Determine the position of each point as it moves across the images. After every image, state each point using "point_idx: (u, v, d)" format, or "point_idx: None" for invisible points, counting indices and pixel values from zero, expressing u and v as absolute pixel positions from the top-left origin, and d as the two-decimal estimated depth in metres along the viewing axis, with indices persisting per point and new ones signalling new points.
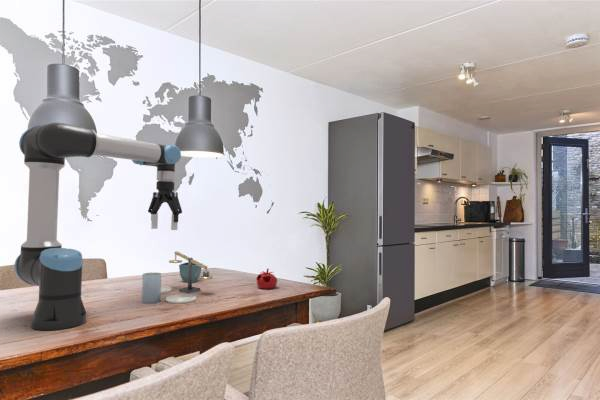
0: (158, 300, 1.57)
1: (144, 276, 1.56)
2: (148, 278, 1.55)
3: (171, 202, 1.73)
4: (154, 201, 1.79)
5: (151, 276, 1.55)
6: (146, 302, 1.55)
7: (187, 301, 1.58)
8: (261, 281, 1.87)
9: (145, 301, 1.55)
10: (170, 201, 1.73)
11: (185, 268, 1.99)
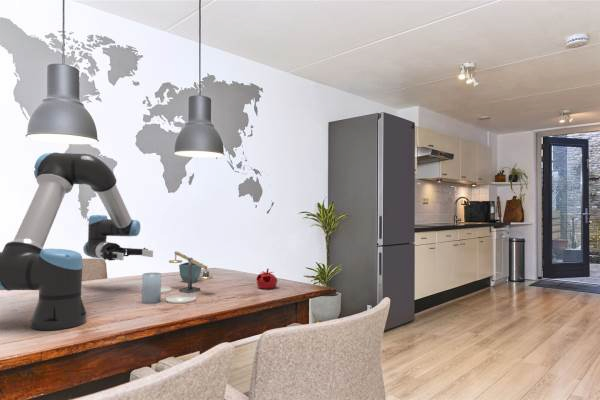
0: (158, 300, 1.57)
1: (144, 276, 1.56)
2: (148, 278, 1.55)
3: None
4: None
5: (151, 276, 1.55)
6: (146, 302, 1.55)
7: (187, 301, 1.58)
8: (261, 281, 1.87)
9: (145, 301, 1.55)
10: None
11: (185, 268, 1.99)
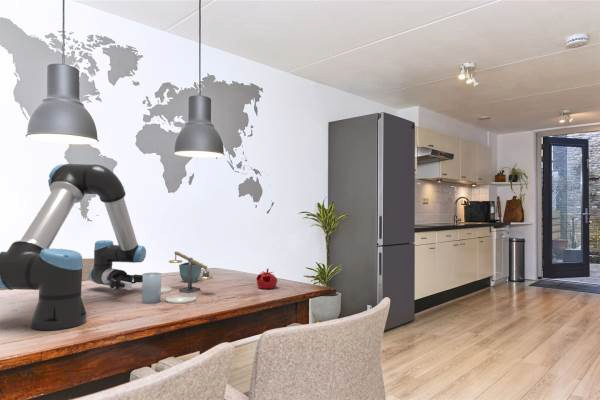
0: (158, 300, 1.57)
1: (144, 276, 1.56)
2: (148, 278, 1.55)
3: None
4: None
5: (151, 276, 1.55)
6: (146, 302, 1.55)
7: (187, 301, 1.58)
8: (261, 281, 1.87)
9: (145, 301, 1.55)
10: None
11: (185, 268, 1.99)
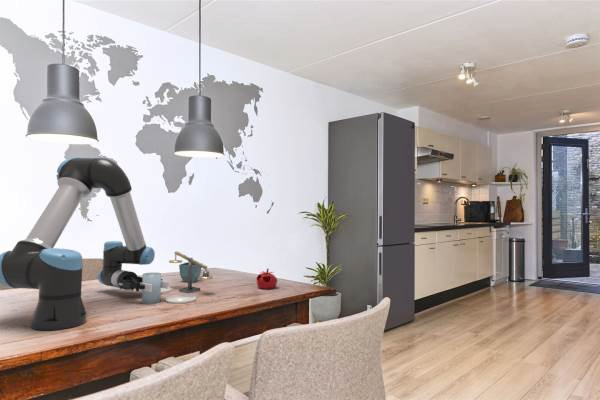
0: (158, 300, 1.57)
1: (144, 276, 1.56)
2: (148, 278, 1.55)
3: None
4: None
5: (151, 276, 1.55)
6: (146, 302, 1.55)
7: (187, 301, 1.58)
8: (261, 281, 1.87)
9: (145, 301, 1.55)
10: None
11: (185, 268, 1.99)
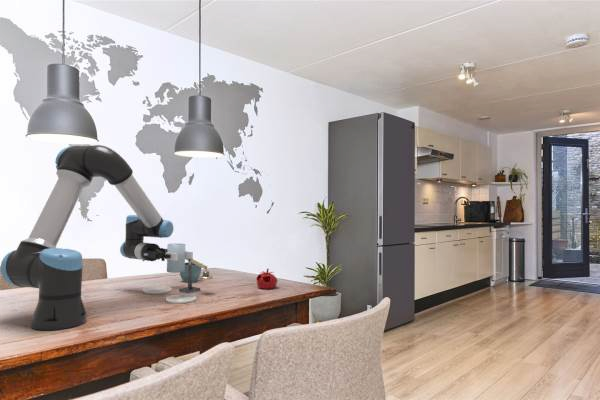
0: (183, 269, 1.61)
1: (169, 246, 1.60)
2: (173, 248, 1.59)
3: None
4: None
5: (176, 246, 1.59)
6: (171, 271, 1.59)
7: (187, 301, 1.58)
8: (261, 281, 1.87)
9: (170, 270, 1.59)
10: None
11: (185, 268, 1.99)
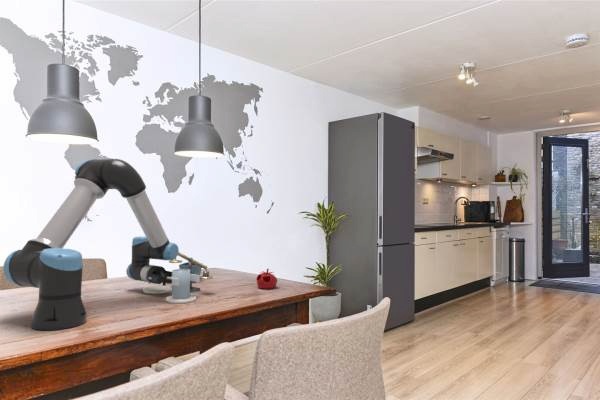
0: (188, 296, 1.61)
1: (174, 272, 1.59)
2: (178, 274, 1.59)
3: None
4: None
5: (181, 272, 1.59)
6: (176, 298, 1.59)
7: (187, 301, 1.58)
8: (261, 281, 1.87)
9: (175, 297, 1.59)
10: None
11: (185, 268, 1.99)
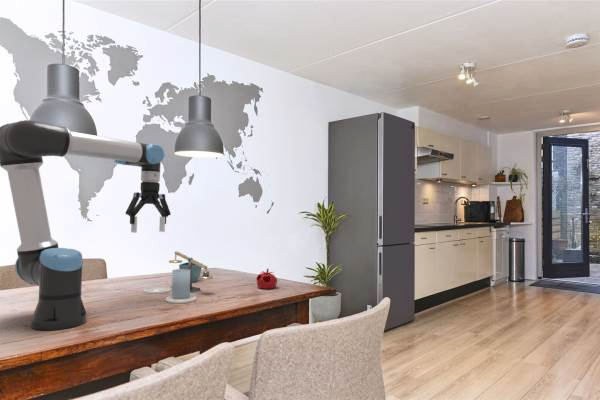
0: (188, 296, 1.61)
1: (174, 272, 1.59)
2: (178, 274, 1.59)
3: (139, 203, 1.65)
4: (162, 203, 1.74)
5: (181, 272, 1.59)
6: (177, 298, 1.59)
7: (187, 301, 1.58)
8: (261, 281, 1.87)
9: (176, 297, 1.59)
10: (140, 202, 1.65)
11: (185, 268, 1.99)
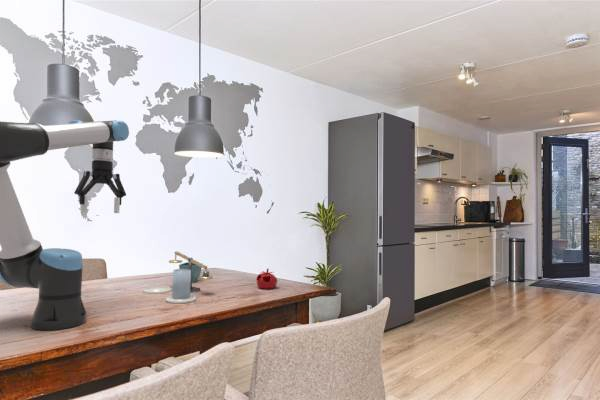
0: (188, 296, 1.61)
1: (175, 272, 1.59)
2: (179, 274, 1.59)
3: (90, 183, 1.57)
4: (116, 183, 1.67)
5: (182, 272, 1.59)
6: (177, 298, 1.59)
7: (187, 301, 1.58)
8: (261, 281, 1.87)
9: (176, 297, 1.59)
10: (91, 182, 1.58)
11: (185, 268, 1.99)
